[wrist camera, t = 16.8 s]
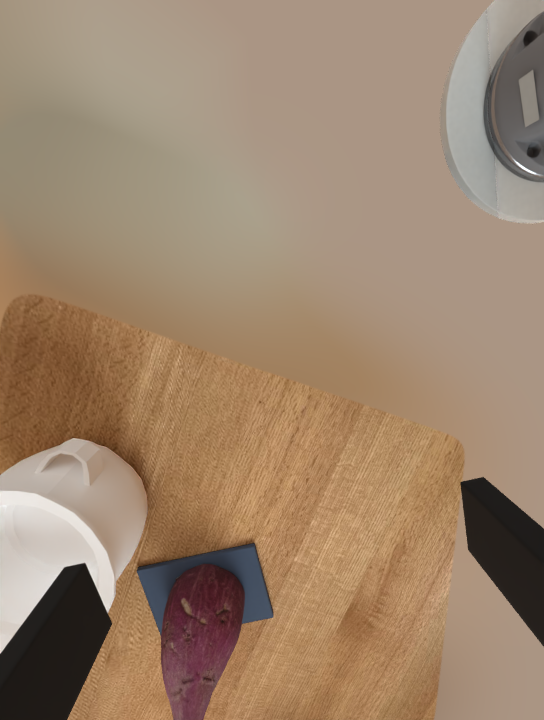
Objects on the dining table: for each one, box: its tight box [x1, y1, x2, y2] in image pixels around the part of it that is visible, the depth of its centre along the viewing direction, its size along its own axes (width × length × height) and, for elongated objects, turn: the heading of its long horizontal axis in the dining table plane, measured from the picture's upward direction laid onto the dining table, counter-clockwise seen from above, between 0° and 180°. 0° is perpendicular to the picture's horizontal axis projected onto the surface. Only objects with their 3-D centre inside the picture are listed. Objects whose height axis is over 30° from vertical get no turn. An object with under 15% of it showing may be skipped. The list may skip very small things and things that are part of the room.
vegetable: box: [161, 564, 245, 720], centre depth 36 cm, size 10×10×15 cm
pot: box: [0, 438, 148, 653], centre depth 33 cm, size 22×17×12 cm
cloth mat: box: [137, 543, 273, 635], centre depth 42 cm, size 16×12×1 cm
